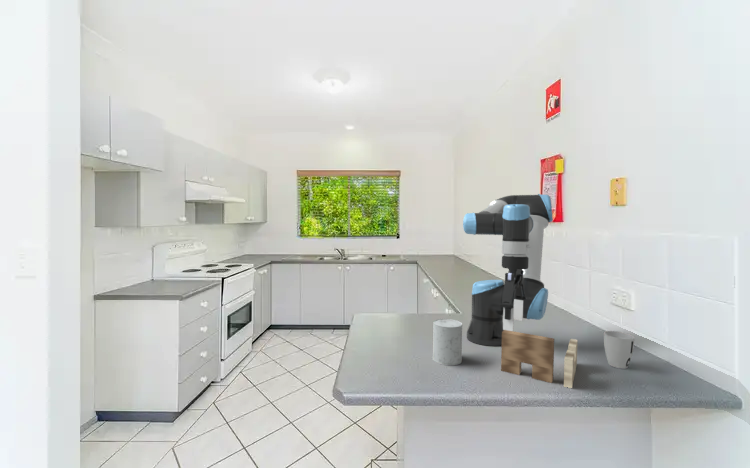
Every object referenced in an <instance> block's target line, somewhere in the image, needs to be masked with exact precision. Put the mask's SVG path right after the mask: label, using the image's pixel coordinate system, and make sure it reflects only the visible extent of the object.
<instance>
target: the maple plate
mask: <svg viewBox="0 0 750 468" xmlns="http://www.w3.org/2000/svg"><path fill="white" fill-rule="evenodd" d="M563 362H564V364H563V366H564V367H563V387H564V388H567V387H568V389H571V388H572V389H573V386H574V380H575V376H576V371H577V365H578V339H575V338H570V340H569V342H568V347H567V350H566V352H565V354H564V361H563Z"/></svg>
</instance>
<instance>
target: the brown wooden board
mask: <svg viewBox="0 0 750 468" xmlns="http://www.w3.org/2000/svg"><path fill="white" fill-rule="evenodd" d="M500 352H501V359H500V360H501V361H500V366H501V367H500V372H505V373H508V374H514V375H518V376H520V374H521V373H522V363H523V364H527V365H532V366H531V379H534V380H537V381H542V382H547V383H549V384H550V383H551V384H552V383H553V380H554V367H555V366H554V365H555V363H554V362H555V361H554V359H555V357H554V356H555V338H553V337H549V336H548V337H547V336H541V335H536V334H531V333H525V332H524V333H523V332H518V331H514V330H513V331H508V330H504V331H503V332H502V345H501V351H500Z"/></svg>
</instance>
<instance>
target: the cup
mask: <svg viewBox="0 0 750 468" xmlns="http://www.w3.org/2000/svg"><path fill="white" fill-rule="evenodd" d="M635 339H636V337H635V336H634V335H632V334H631V333H630V334H629V333H626V332H621V331H615V330H607V331H604V332H603V343H604V344H603V345H604V351H605V357H606V361H607V363H608V365H609V366H610V367H613V368H616V369H623V370H625V369H628V368H629V365H630V364H631V361H632V358H633V352H634V349H635V348H634V346H635Z"/></svg>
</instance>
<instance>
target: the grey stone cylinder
mask: <svg viewBox="0 0 750 468" xmlns="http://www.w3.org/2000/svg"><path fill="white" fill-rule="evenodd" d="M432 323H433V325H432V326H433V327H432V330H433V331H432V333H433V334H432V361H433V362H434V363H436V364H440V365H442V366H457V365H460V364H462V362H463V359H462V358H463V357H462V354H463V353H462V352H463V350H462V349H463V323H462V322H461V321H460V320H457V319H450V318H438V319H434V320H433V322H432Z"/></svg>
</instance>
